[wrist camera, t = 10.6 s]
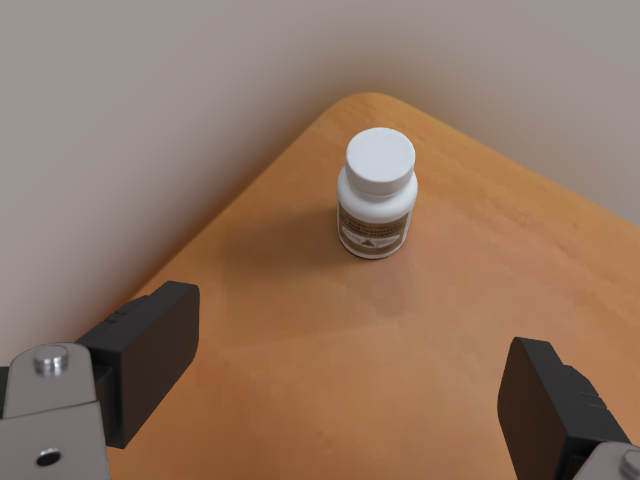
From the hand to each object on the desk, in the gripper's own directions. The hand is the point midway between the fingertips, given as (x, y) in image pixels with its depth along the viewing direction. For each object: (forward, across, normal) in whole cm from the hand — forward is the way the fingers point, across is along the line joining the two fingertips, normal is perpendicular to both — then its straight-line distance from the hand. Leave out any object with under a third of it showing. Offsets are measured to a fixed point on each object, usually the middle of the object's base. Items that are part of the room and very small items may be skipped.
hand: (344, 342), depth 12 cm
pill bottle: (+19, 0, +2) cm, 19 cm away
